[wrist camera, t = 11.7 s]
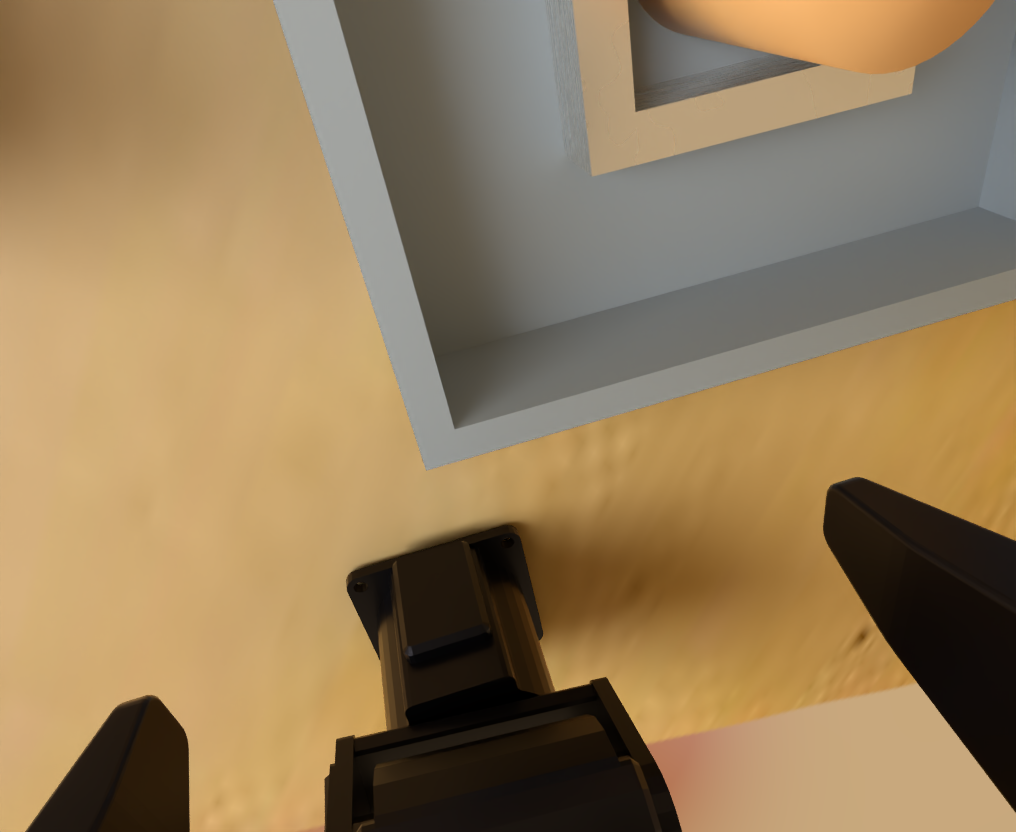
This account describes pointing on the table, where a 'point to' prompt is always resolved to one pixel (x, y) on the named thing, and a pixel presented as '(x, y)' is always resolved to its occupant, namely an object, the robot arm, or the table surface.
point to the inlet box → (642, 201)
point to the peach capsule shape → (827, 28)
